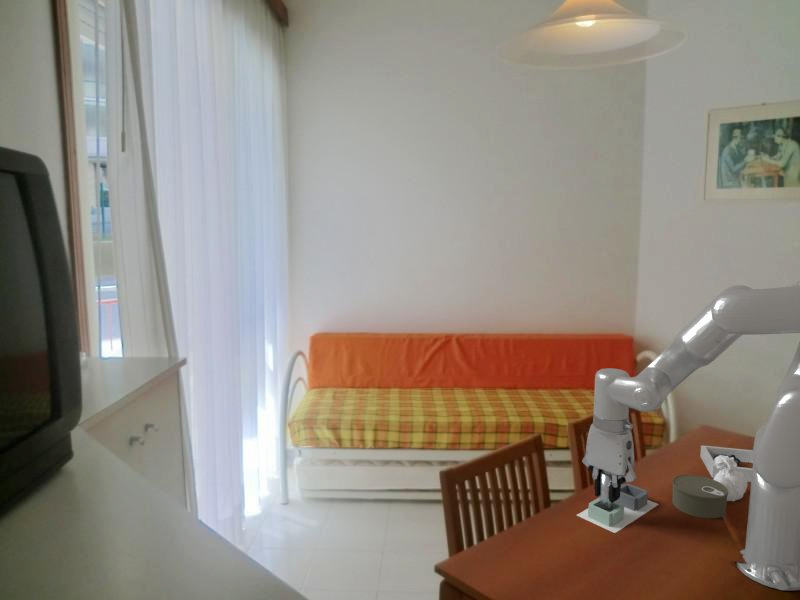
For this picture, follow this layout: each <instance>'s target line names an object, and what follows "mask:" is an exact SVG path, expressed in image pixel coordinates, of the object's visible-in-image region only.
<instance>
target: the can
mask: <svg viewBox="0 0 800 600" xmlns="http://www.w3.org/2000/svg"><path fill="white" fill-rule="evenodd" d="M713 479H714V478H710V477H706V476H702V475H697V474H696V475H695V474H683V475H682V474H681V475H676V476H675V477H674V478H673V479H672V499H671V500H672V504H673V505H674V507H675V508H677V509H678V510H679V511H681V512H682V513H685V514H687V515H690V516H693V517H695V518H700V519H701V518H702V519H710V520H711V519H719V518H722V520H723V521H725V520H726V511H727V504H728V501H727V495H728V489H727V488H726V487H725V486H724V485H723V484H721V483H720V482H718V481H716V480H713Z"/></svg>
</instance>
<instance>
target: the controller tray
mask: <svg viewBox="0 0 800 600" xmlns="http://www.w3.org/2000/svg"><path fill="white" fill-rule="evenodd" d="M719 454H722V455H728V456H731V455H735V457H736V458H738V459H739V460H740V463H748V462H749V463H751V464H753V460H752V454H753V449H742V448H732V447H722V446H712V445H711V446H710V445H700V454H699V455H700V458H701V460H702V462H703V464H704V465H705V467H706V469H707V471H708V473H709V474H710V477H711V479H714V477H715V475H716V474H717V473H718V472H719V471H720V468H719V469H717V466H716V464H715V461H714V457H715V456H716V455H719ZM749 463H748V464H749ZM752 470H753V467H751V468H750V467H741V466H740V467H736V468H735V470H734V471H739V472H742V473H743V474H744V476H745V478H746V481H747V483H751V480H752Z"/></svg>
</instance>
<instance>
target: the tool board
mask: <svg viewBox="0 0 800 600" xmlns="http://www.w3.org/2000/svg"><path fill="white" fill-rule="evenodd" d="M648 493H649V491H648V490H647V489H644V488H641V487H638V486H635V485H633V484H630V483H629V482H626V484H625V483H623V484H621V491H620V498H619V499H618V500H616V501H615V502H613V511H611V512H608V511H606V510H604V509H601V508H599V507H600V496H598V497H597V498H596V499H594V500H592V501H591V502H588V505H587V506H588V508H586V509H584V510H583V511H581V512H580V513H577V514H576V516H577V517H579V518H581V519H583V520H585V521H587V522H590V523H592V524H594V525H597V526H598V527H601V528H603V529H604V530H607V531H610V532H611V533H614V534H616V533H618V532H619V531H621V530H622V529H623V528H625V527H626V526H628V525H629V524H632V523H633V522H635V521H636V520H638V519H639V518H640V517H642V516H644V515H645V514H646V513H648V512H650V511H651V510H653V509H654V508H656V507H657V506H659V503H657V502H654V501H651V500H649V499H648V497H649V494H648Z"/></svg>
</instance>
